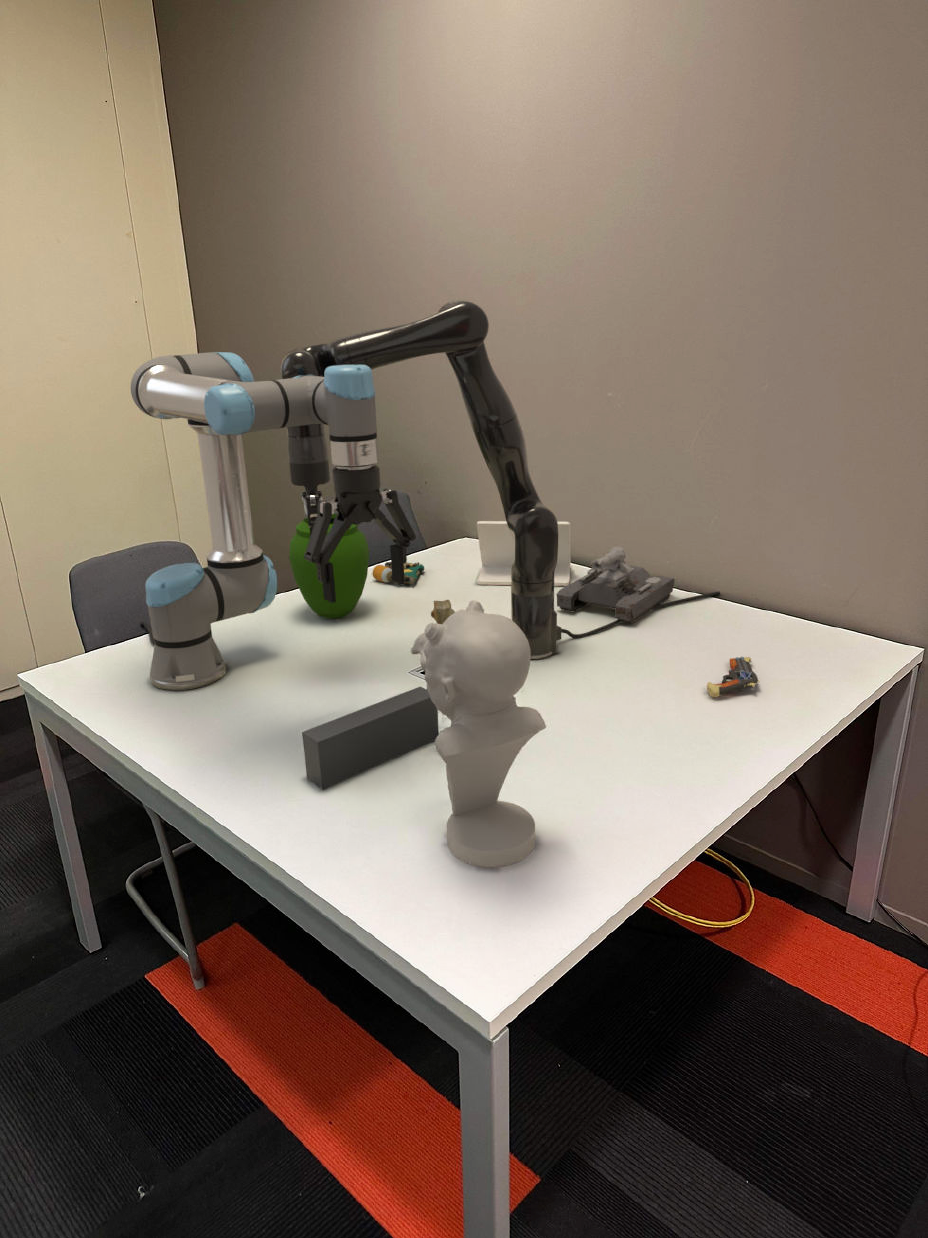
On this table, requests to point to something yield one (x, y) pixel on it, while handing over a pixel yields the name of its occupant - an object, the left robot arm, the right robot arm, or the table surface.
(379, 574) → the spray gun
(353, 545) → the vase
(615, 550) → the toy
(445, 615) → the sculpture
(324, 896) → the table surface
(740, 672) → the toy gun
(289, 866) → the table surface
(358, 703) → the table surface
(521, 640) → the bust sculpture
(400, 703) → the bar
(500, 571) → the tablet stand
